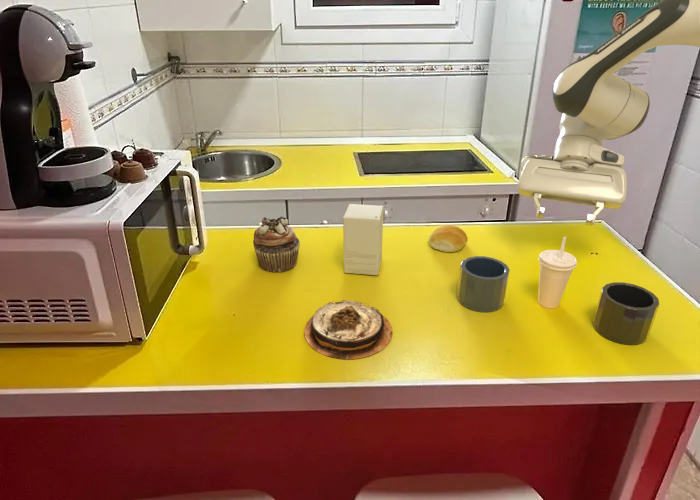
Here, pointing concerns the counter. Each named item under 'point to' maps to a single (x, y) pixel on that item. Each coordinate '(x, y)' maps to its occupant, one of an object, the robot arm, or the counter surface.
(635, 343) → the cup
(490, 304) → the cup
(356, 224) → the white packaging box
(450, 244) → the bread roll
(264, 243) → the cupcake
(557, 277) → the smoothie
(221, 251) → the counter surface
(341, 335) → the frosted layer cake
